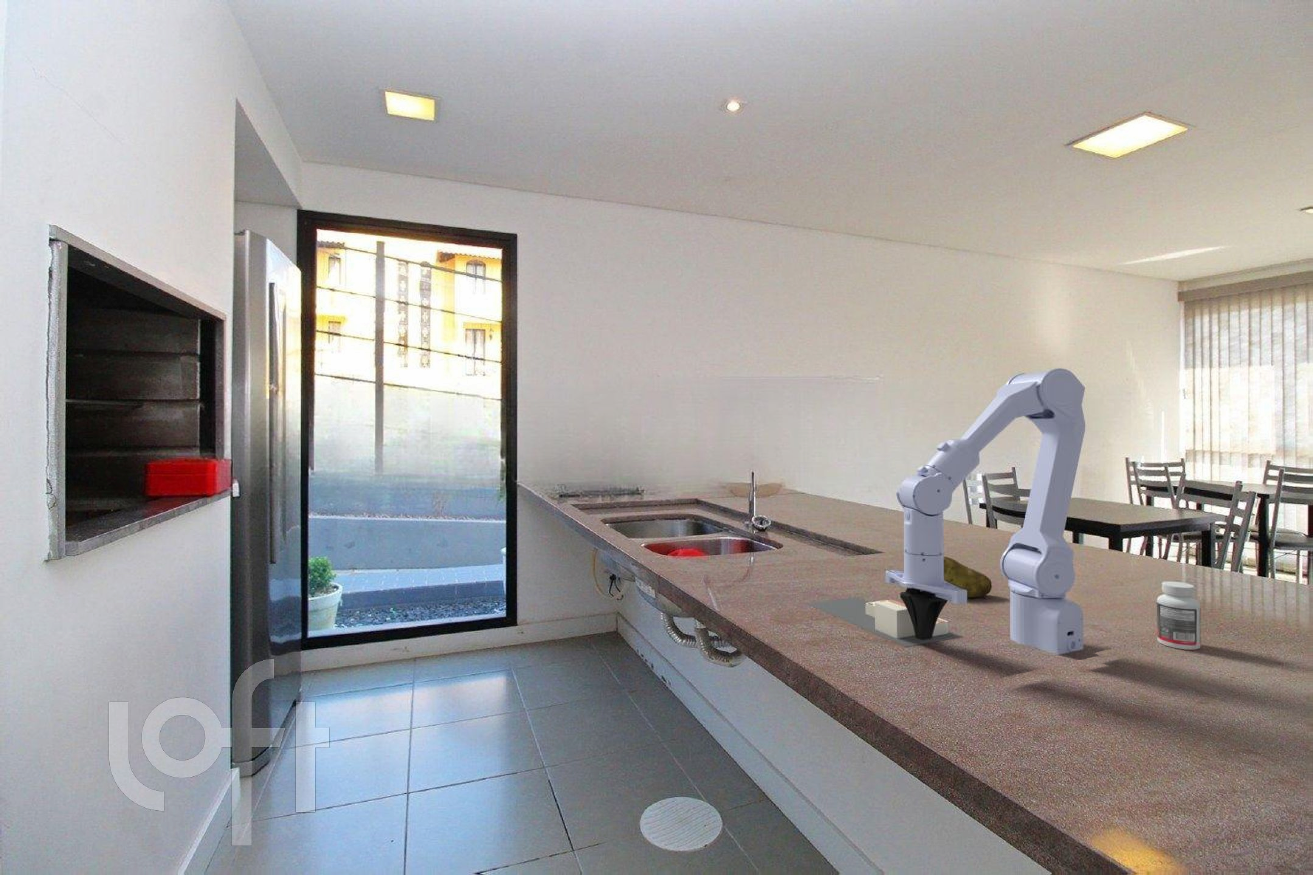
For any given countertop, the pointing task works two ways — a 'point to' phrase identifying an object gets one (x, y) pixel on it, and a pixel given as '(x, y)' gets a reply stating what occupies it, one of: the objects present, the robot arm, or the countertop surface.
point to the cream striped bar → (939, 628)
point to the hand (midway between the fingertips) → (923, 638)
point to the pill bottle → (1178, 616)
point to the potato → (966, 578)
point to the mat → (869, 619)
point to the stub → (893, 619)
